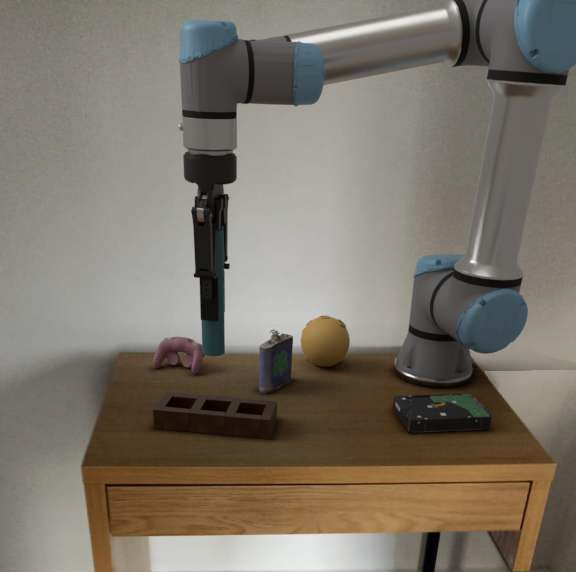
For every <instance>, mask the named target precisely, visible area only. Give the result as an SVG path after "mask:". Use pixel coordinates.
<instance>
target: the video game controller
mask: <svg viewBox="0 0 576 572" xmlns="http://www.w3.org/2000/svg"><path fill="white" fill-rule="evenodd" d="M179 353H182V354H185V355H184V356H183V357H182V360H181V357H180V355H179ZM205 356H206V355H204V354H203V353H202V343H199V341H197V340H194V339H193V338H190V337H185V336H172V337H171V336H170V337H164V338H163V340H162V341H160V342H159V344H158V347H157V349H156V351H155V353H154V356H153V359H152V366H153V368H154V369H158V368H160V367H161V366H162V364H163V363H164V361H165V360H166V359H167V362H168V364H169V365H171V366H178V365H179V364H180V362H181V364H182V365H183V367H185V368H187V369H191V373H192V375H197V374H198V373H199V372H200V370H201V367H202V365H203V361H204V358H205Z"/></svg>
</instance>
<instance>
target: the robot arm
mask: <svg viewBox="0 0 576 572" xmlns="http://www.w3.org/2000/svg"><path fill="white" fill-rule="evenodd" d="M237 31H238V29H237V25H236V23H234V22H232V21H226V20H225V21H222V20H207V19H205V20H204V19H188V20H186V21H184V22H183V23H182V24H181V26H180V30H179V59H178V63H179V77H180V95H181V96H180V98H181V116H182V117H181V119H182V121H181V123H180V122H179V124H178V130H180V131H181V132H182V145H183V147H184V149H186V150H187V151H185V152H184V154H183V155H182V157H183V159H182V160H183V178H184V180H185V181H186V182H188V183H190V184H196V185H197V193H196V195H195V196H194V206H192V207H191V210H190V212H191V218H192V226H193V227H192V229H193V247H194V270H195V271H194V273H193V278H194V279H195V278H196V279H199V305H200V307H199V309H200V310H199V311H200V312H199V313H200V321H201V320H208V321H218V320H219V291H218V277H216V276H217V273H216V264H217V231H218V230H219V229H220V228H222V229H223V231H224V313H225V312H226V302H225V301H226V287H225V285H226V283H225V281H226V280H225V279H226V278H225V277H226V276H225V270H230V266H231V264H230V263H227V262H228V260H229V256H228V235H229V234H228V232H229V231H228V227H229V226H228V223H229V220H228V219H229V218H228V217H229V213H228V211H229V200H230V197H229V193H225V188H224V185H230V184H234V183H235V182H236V181H237V179H238V156H237V155H236V153H234V151H235V150H237V148H238V114H237V110H238V104H242V105H249V104H253V105H273V106H274V105H275V106H276V105H277V106H278V105H279V106H294V107H298V106H311V105H314V104H316V103H317V102H318V101H319V100H320V98H321V95H322V93H323V90H324V86H328V85H332V84H337V83H343V82H348V81H353V80H358V79H365V78H369V77H374V76H379V75H384V74H390V73H394V72H400V71H404V70H409V69H410V70H411V69H415V68H420V67H424V66H425V67H426V66H430V65H436V64H440V65H441V66H442V67H443V68H444V69H451V68H457V67H464V66H466V67H468V66H470V67H471V66H475V67H488V70H487V71H488V72H487V76H486V83H487V85H488V87H489V88H490V90H491V92H492V95H493V98H492V99H493V100H492V104H491V110H490V115H489V116H490V117H489V121H488V128H487V132H486V138H485V142H484V143H485V144H484V148H483V149H484V150H483V153H482V159H481V160H482V161H481V165H480V170H479V177H478V182H477V189H476V193H475V199H474V204H473V211H472V216H471V220H470V227H469V232H468V237H467V243H466V248H465V254H458V253H456V254H455V253H442V254H441V253H440V254H439V253H438V254H428V255H423V256H421V257H420V258H419V259H418V260H417V261H416V265H415V266H416V267H415V270H414V273H413V286H412V295H411V303H410V311H409V321H408V330H407V334H406V337H405V339H404V341H403V344H402V346H401V347H400V350H399V352H398V354H397V355H396V356H395V358H394V361H393V363H394V373H395V375H397V377H398V378H400V379H402V380H403V381H405V382H408V383H411V384H414V385H418V386H421V387H427V388H428V387H430V388H453V387H459V386H462V385H464V384H467V383H468V382H469V381H470V380H471V379H472V375H473V369H474V370H477V369H478V365H476V364H474V363H473V362H472V356H471V351H473V352H475V353H478V354H483V355H484V354H489V355H490V354H494V353H497V352H499V351H502V350H504V349H506V348H507V347H508V346H509V345H510V344H511V343H514V342H515V341H516V340H517V338H519V336H520V335H521V334H522V332H523V330H524V328H525V327H526V323H527V321H528V317H529V316H528V315H529V309H528V304H527V302H526V300H525V298H524V296H523V295H522V294H520V292H521V288H522V282H523V278H524V271H523V270H522V268H521V267H520V265H519V264H518V258H519V253H520V248H521V243H522V240H523V235H524V229H525V226H526V222H527V215H528V211H529V207H530V203H531V198H532V193H533V190H534V189H533V188H534V184H535V179H536V175H537V171H538V165H539V162H540V161H539V160H540V158H541V157H540V156H541V151H542V148H543V143H544V137H545V133H546V129H547V124H548V120H549V119H548V118H549V115H550V110H551V106H552V101H553V100H554V98H555V97H556V96H557V95H558V94H560V93H561V92H562V91H563V90H564V89H566V85H567V82H568V77H569V72H570V70H571V68H572V67H574V66H576V0H439V1H438V3H437V4H436V6H431V7H428V8H427V7H426V8H421V9H417V10H410V11H405V12H401V13H395V14H394V13H393V14H390V15H389V14H388V15H385V16H379V17H374V18H368V19H363V20H358V21H352V22H347V23H341V24H336V25H331V26H326V27H321V28H315V29H310V30H303V31H299V32H294V33H289V34H284V35H278V36H273V37H268V38H262V39H241V38H239V35H238V32H237Z"/></svg>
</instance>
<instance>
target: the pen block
mask: <svg viewBox="0 0 576 572" xmlns="http://www.w3.org/2000/svg"><path fill="white" fill-rule="evenodd" d="M152 416H153V417H152V418H153V428H154V429H155V430H166V431H176V432H187V433H197V434H198V433H199V434H210V435H221V436H229V437H230V436H231V437H240V438H252V439H263V440H270V439H271V437H272V433H273V431H274V428H275V426H276V423H277V421H278V420H277V419H278V401H275V400H263V399H251V398H240V397H239V398H238V397H227V396H217V395H206V394H205V395H204V394H194V393H193V394H192V393H183V392H170V391H165V393H164V394H163V395H162V397H161V398H160V399H159V400H158V402H157V403H156V405H155V406H154V408H153V409H152Z"/></svg>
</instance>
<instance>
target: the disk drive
mask: <svg viewBox="0 0 576 572" xmlns="http://www.w3.org/2000/svg"><path fill="white" fill-rule="evenodd" d="M392 408H393V410H394V412H395V414H396V415H397V417H398V418H399V420H400V422H401V423H402V424H403V426H404V428H405V429H406V431H407V432H409V433H433V432H434V433H437V432H438V433H439V432H453V431H455V432H457V431H458V432H460V431H482V430H487V429H488V430H490V429H491V427H492V422H493V415H492V414H491V413H490V412H489V411H488V409H487V408H486V407H485V405H484V404H483V403H480V401H479V400H478V399H477V398H475V395H474V394H469V393H464V394H463V393H451V394H449V393H447V394H445V393H444V394H443V393H442V394H416V395H414V394H413V395H395V396H394V397H393V405H392Z"/></svg>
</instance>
